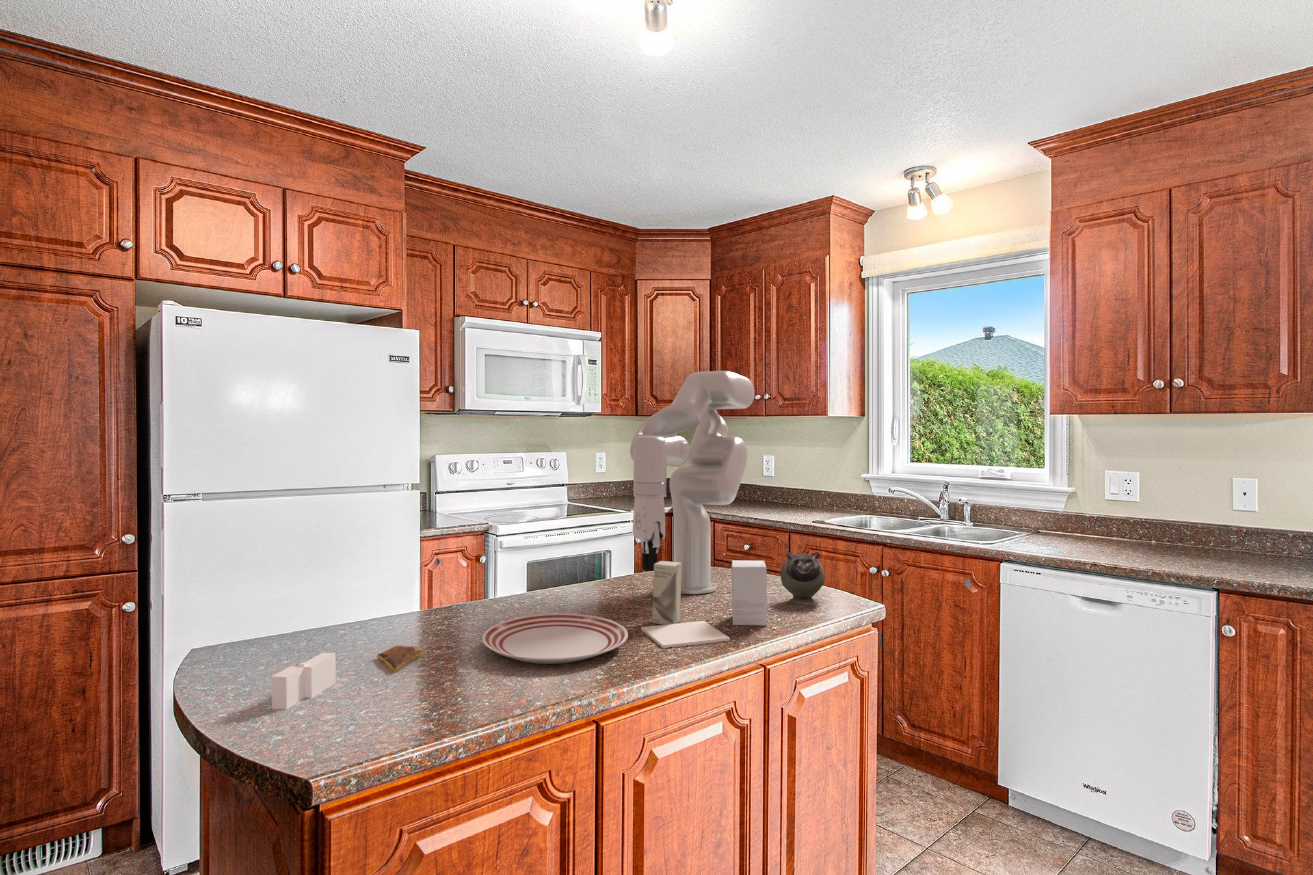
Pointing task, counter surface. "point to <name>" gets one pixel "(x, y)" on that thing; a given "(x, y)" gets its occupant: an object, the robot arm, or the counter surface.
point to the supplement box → (749, 592)
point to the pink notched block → (303, 680)
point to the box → (666, 592)
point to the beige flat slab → (684, 634)
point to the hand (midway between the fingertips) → (649, 570)
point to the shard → (400, 656)
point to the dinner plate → (554, 637)
